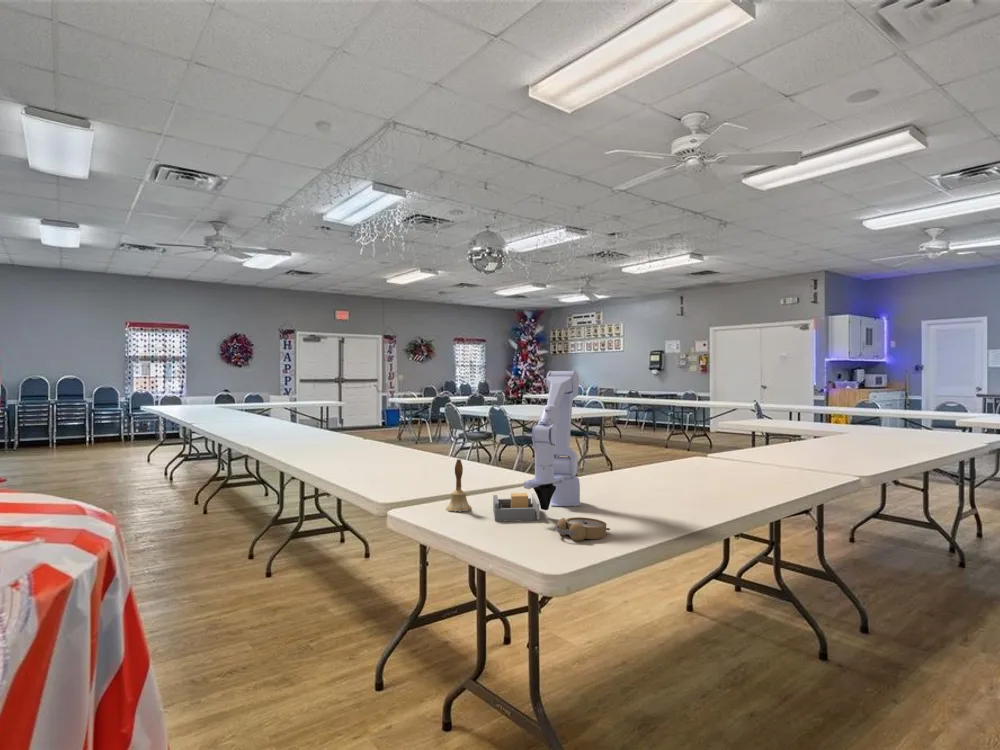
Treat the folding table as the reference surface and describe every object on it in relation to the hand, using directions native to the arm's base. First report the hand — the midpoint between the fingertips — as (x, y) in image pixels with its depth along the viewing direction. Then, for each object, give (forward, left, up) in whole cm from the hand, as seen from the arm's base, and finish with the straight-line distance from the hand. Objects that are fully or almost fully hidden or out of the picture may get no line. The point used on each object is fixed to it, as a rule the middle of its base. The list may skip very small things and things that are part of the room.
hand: (544, 509), depth 171 cm
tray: (+8, -4, -2) cm, 9 cm away
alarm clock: (-7, +18, -3) cm, 20 cm away
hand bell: (+26, -12, -3) cm, 29 cm away
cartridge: (+7, -4, -1) cm, 8 cm away
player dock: (+9, -4, -2) cm, 10 cm away
